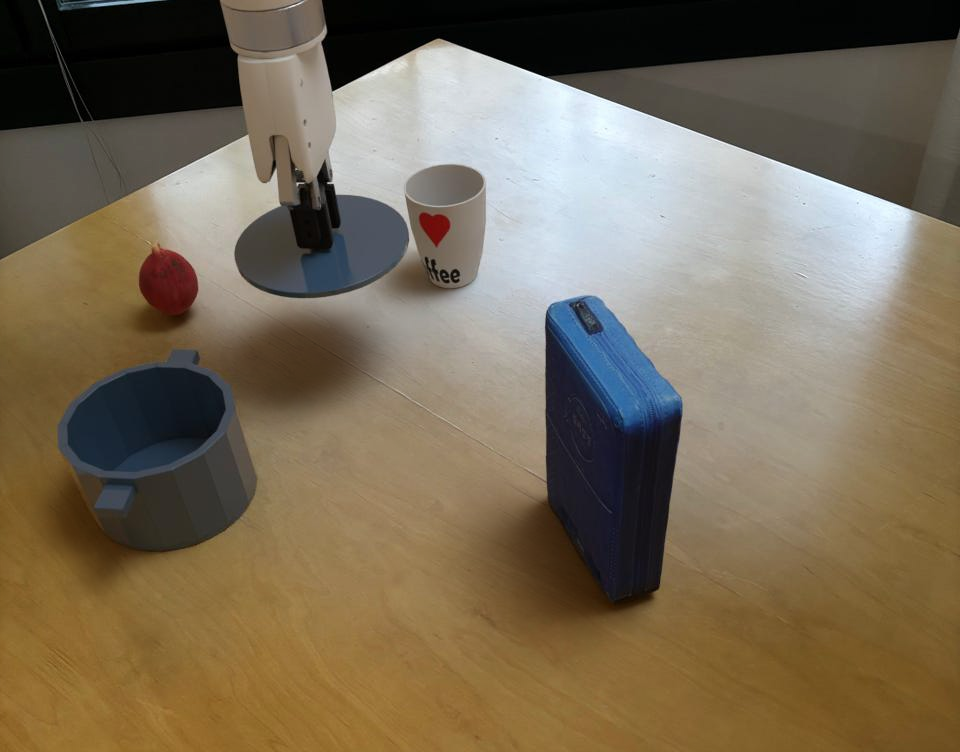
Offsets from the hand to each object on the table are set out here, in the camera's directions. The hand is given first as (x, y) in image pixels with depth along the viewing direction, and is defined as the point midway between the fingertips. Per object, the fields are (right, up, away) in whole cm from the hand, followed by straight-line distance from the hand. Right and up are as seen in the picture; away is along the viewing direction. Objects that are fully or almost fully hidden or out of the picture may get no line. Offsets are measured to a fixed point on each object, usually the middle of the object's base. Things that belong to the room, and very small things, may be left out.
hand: (319, 235), depth 96 cm
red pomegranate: (-17, -2, +17) cm, 24 cm away
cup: (+12, +2, +18) cm, 21 cm away
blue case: (+24, -29, -8) cm, 38 cm away
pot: (-13, -23, 0) cm, 26 cm away
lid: (0, -1, +1) cm, 1 cm away
